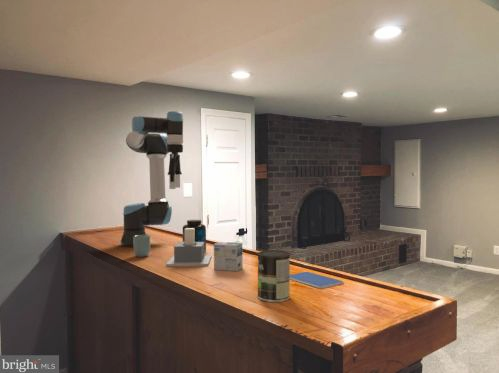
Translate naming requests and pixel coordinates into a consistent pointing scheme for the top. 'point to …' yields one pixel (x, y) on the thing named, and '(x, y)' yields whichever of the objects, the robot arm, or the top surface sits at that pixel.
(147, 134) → the robot arm
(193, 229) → the peg
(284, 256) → the coffee can
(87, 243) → the top surface
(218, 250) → the light bulb box
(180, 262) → the socket block
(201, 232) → the container
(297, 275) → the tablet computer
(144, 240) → the cup
